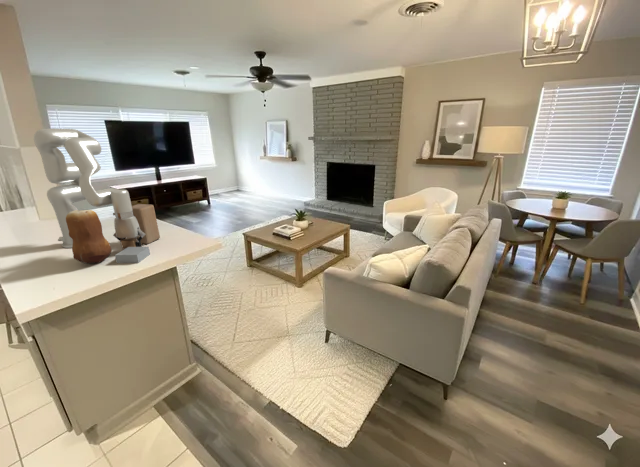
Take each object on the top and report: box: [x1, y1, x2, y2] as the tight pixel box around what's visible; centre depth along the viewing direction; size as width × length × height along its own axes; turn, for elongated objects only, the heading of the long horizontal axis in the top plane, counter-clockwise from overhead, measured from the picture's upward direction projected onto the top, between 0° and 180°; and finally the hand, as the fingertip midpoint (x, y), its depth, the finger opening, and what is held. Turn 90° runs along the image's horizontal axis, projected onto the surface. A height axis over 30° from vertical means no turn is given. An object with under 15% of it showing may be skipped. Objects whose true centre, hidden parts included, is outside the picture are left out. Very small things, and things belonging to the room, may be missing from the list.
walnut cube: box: [120, 238, 142, 250], centre depth 147 cm, size 6×6×6 cm
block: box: [132, 203, 161, 245], centre depth 157 cm, size 10×10×20 cm
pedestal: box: [114, 246, 151, 264], centre depth 137 cm, size 10×10×4 cm
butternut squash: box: [66, 209, 112, 264], centre depth 130 cm, size 14×13×25 cm
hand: (132, 248), depth 148 cm, fingers closed on walnut cube, 6 cm apart
